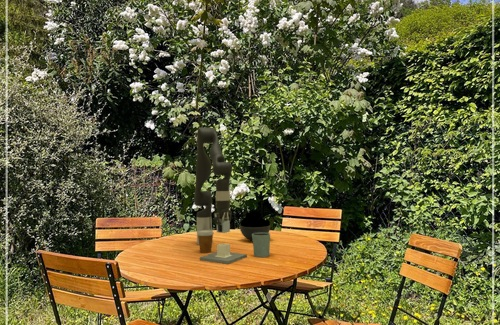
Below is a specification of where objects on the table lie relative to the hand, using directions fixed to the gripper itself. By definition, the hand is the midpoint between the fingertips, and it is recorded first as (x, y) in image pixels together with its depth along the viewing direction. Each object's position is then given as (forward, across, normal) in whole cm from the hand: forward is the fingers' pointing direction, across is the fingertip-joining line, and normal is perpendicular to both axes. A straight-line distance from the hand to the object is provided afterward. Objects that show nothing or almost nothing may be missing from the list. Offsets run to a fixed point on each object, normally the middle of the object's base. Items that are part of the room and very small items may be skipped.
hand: (223, 231), depth 232 cm
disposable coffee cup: (+15, +9, +19) cm, 26 cm away
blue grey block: (0, 0, 0) cm, 0 cm away
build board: (+15, 0, 0) cm, 15 cm away
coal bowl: (+15, +51, +11) cm, 54 cm away
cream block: (+13, 0, 0) cm, 13 cm away
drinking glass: (+15, +16, -14) cm, 26 cm away
